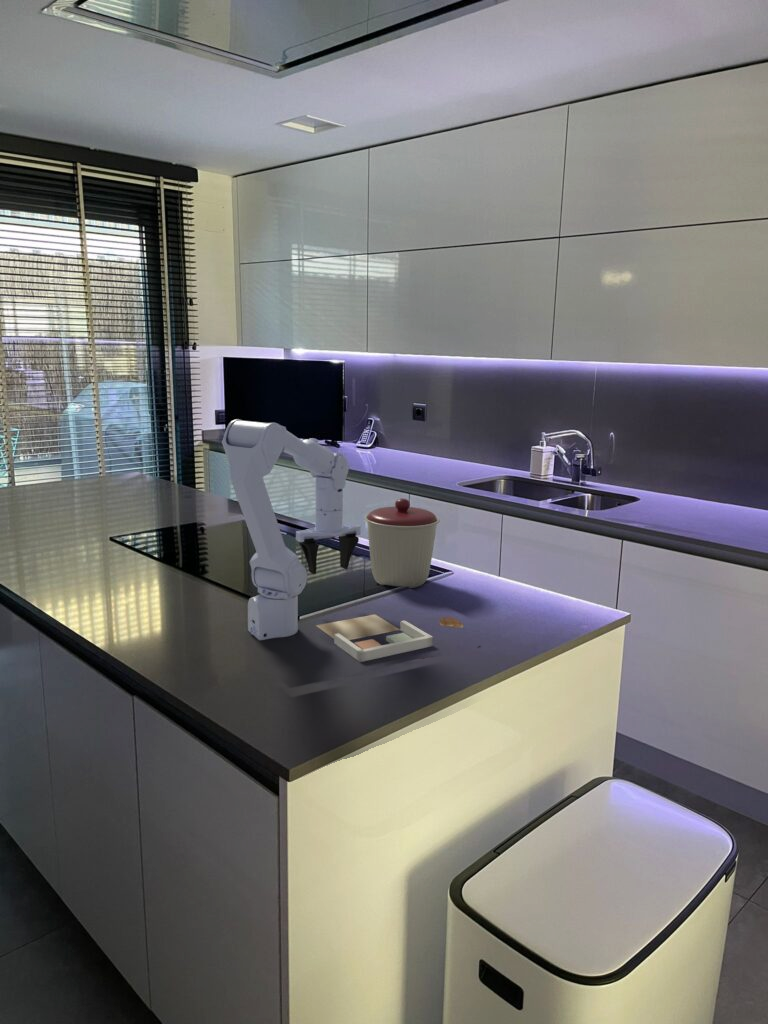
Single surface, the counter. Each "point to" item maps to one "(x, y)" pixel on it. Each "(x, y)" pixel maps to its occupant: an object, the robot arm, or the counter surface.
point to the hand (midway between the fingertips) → (328, 570)
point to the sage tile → (397, 638)
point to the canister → (401, 544)
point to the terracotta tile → (367, 644)
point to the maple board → (358, 627)
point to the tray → (361, 655)
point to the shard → (450, 622)
